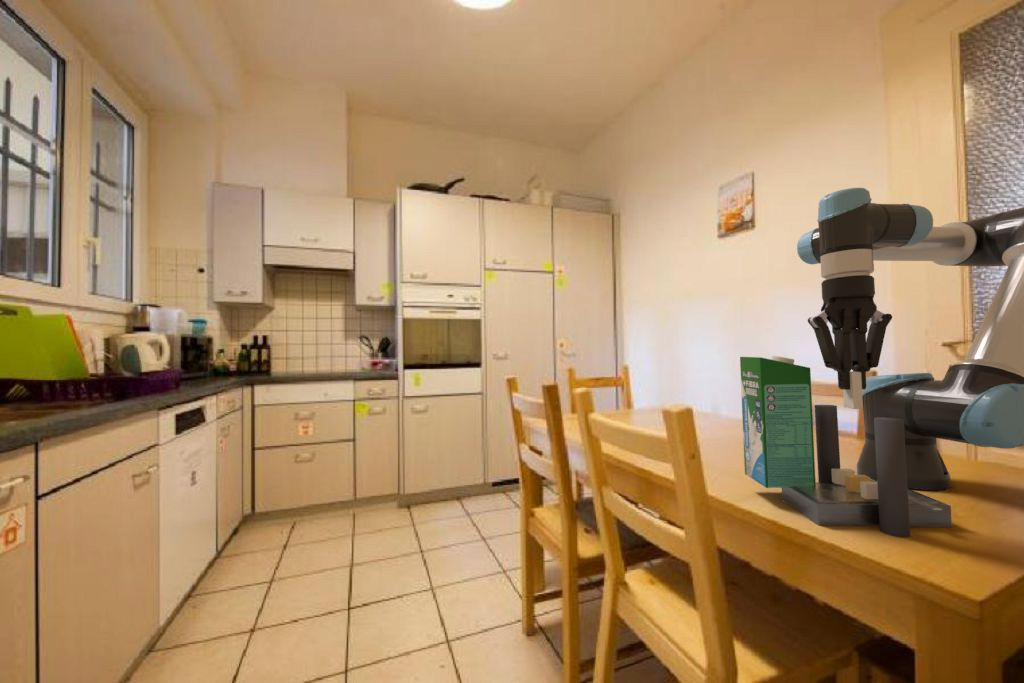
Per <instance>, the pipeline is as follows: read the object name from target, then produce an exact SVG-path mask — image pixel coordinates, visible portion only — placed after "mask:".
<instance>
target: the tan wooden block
mask: <svg viewBox="0 0 1024 683" xmlns="http://www.w3.org/2000/svg"><path fill="white" fill-rule="evenodd" d="M860 482H870V477H868V476H866V475H858V474H855V475H845V485H846V489H847V490H849V491H861V489H860Z"/></svg>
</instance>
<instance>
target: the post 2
mask: <svg viewBox="0 0 1024 683" xmlns="http://www.w3.org/2000/svg"><path fill="white" fill-rule="evenodd" d="M874 430H875V449H876V467H877V486H878V505H879V524H880V526H879V531H880V532H881V533H883V534H885V535H888V536H892V537H898V538H909V537H911V527H910V524H909V506H908V489H909V488H908V487H907V469H906V451H905V433H904V420H903V419H898V418H885V417H878V418H874Z"/></svg>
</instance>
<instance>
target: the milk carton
mask: <svg viewBox="0 0 1024 683" xmlns="http://www.w3.org/2000/svg"><path fill="white" fill-rule="evenodd" d="M739 363H740V365H739V366H740V387H741V388H740V389H741V392H740V393H741V411H742V412H741V413H742V415H741V416H742V434H743V435H742V436H743V437H742V438H743V457H744V458H743V460H744V461H743V463H744V475H745V476H747V477H749V478H750V479H751V480H754V481H755V482H757V483H758V484H759V485H761V486H763V487H764V488H766V489H767V488H768V489H774V488H775V489H776V488H777V489H780V488H781V489H782V488H789V487H795V486H815V485H816V484H815V482H816V468H815V467H816V465H815V447H814V446H815V444H814V443H815V442H814V441H815V440H814V423H813V421H814V420H813V417H814V416H813V400H812V399H813V398H812V378H811V367H808V366H803V365H798V364H794V363H795V359H794V358H789V357H786V356H785V357H784V356H781V355H780V356H777V355H771V359H770V358H765V357H761V356H760V357H758V356H740V357H739Z"/></svg>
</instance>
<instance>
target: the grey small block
mask: <svg viewBox="0 0 1024 683" xmlns="http://www.w3.org/2000/svg"><path fill="white" fill-rule="evenodd" d="M831 472H832V482H833V483H835V484H845V475H856V471H855V470H853V469H851V468H840V469H831Z"/></svg>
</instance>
